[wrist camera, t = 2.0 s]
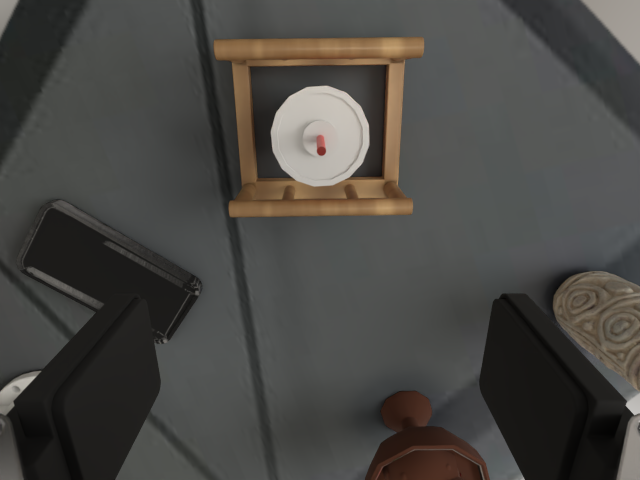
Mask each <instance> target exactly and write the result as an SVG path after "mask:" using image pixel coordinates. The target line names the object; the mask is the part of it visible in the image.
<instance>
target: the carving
mask: <svg viewBox="0 0 640 480" xmlns="http://www.w3.org/2000/svg"><path fill="white" fill-rule="evenodd" d="M553 310H554V313H555V317H556V320H557V321H558V323H559V324H560V325H561V326H562V328H563V329H565V330H566V331H567V332H568V334H569V335H570V336H571V337H572V338H573V339H574V340H575V341H576V342H577V343H578V344H579V345H581V346H582V347H583V348H585V349H586V350H587V351H589V352H590V353H592V354H593V355H595V357H596V358H598V359H599V360H600V361H601V362H602V363H604V364H605V366H607V367H608V368H610V369H612V370H614V371H615V372H617V373H618V374H619V375H620V376H622V377H623V378H625V380H626V381H628V382H629V383H630V384H631V385H632V386H633V387H634V388H635V389H636V390H638V391H640V286H638V285H636V284H634V283H631V282H629V281H627V280H625V279H622V278H620V277H618V276H616V275H614V274H609V273H607V272H603V271H589V272H584V273H580V274H576V275H573V276H571V277H570V278H568V279H567V280H566V281H565V282H564V283H563V284H562V285H561V286H560V287H559V288H558V290H557V291H556V293H555V295H554V298H553Z"/></svg>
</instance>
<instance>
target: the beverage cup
mask: <svg viewBox="0 0 640 480" xmlns="http://www.w3.org/2000/svg"><path fill="white" fill-rule="evenodd" d="M271 139H272V148H273V153H274V155H275V156H276V158H277V160H278V162H279V164H280V166H281V168H282V169H283V170H284V171H285V172H287V173H288V174H289V175H290V176H291V177H293V178H294V179H295V180H296V181H299V182H302V183H305V184H308V185H311V186H314V187H315V186H330V185H334V184H336V183H339V182H341V181H343V180H345V179H347V178H349V177H350V176H351V175H352V174H353V173H354V172H355V171H356V170H357V168H358V167H359V166H360V165H361V164H362V163H363V160H364V158H365V155H366V152H367V150H368V147H369V124H368V122H367V120H366V117H365V115H364V113H363V111H362V108H361V106H360V105H359V104H358V103H357V102H355V101H354V100H353V99H352V98H351V97H350V96H349V95H348V94H347V93H346V92H343V91H340V90H337V89H335V88H332V87H329V86H316V87H306V88H304V89H302V90H301V91H299V92H297V93H295V94H293V95H291V96H289V97H288V99H287V100H286V101H285V102H284V104H283V105H282V106H281V107H280V108H279V110H278V111H277V112H276V115H275V119H274V122H273V126H272V129H271Z"/></svg>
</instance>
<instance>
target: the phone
mask: <svg viewBox="0 0 640 480" xmlns="http://www.w3.org/2000/svg"><path fill="white" fill-rule="evenodd" d="M16 265H17V267H18V269H19V270H20V271H21V272H22V273H24V274H25V275H27V276H29V277H31V278H33V279H35V280H36V281H38V282H40V283H42V284H44V285H46V286H48V287H50V288H52V289H54V290H55V291H57V292H59V293H61V294H63V295H65V296H67V297H69V298H71V299H72V300H74V301H76V302H78V303H80V304H82V305H84V306H86V307H88V308H90V309H91V310H93V311H95V312H97V311H98V310H99V309H100V308H101V307H102V306H103V305H104V304H105V303H106V302H107V301H108V300H109V299H110V298H111V297H112V296H113V295H114V294H138V295H139V296H140V298H141V299H145V300H146V302H147V305H148V311H149V316H150V322H151V328H152V334H153V339H154V343H157V344H164V343H166V342H168V341H169V340H170V339H171V337H172V336H173V334H174V333H175V331H176V330H177V328H178V327H179V325H180V324H181V322H182V321H183V319H184V318H185V316H186V315H187V313H188V312H189V310H190V309H191V307H192V306H193V304H194V303H195V301H196V300H197V298H198V296H199V295H200V293H201V290H202V284H201V282H200V280H199V279H198V278H197V277H195V276H193V275H192V274H190V273H188V272H187V271H185V270H183V269H181V268H180V267H178V266H176V265H174V264H173V263H171V262H169V261H168V260H166V259H164V258H162V257H161V256H159V255H157V254H155V253H154V252H152V251H150V250H148V249H147V248H145V247H143V246H142V245H140V244H138V243H136V242H135V241H133V240H131V239H129V238H128V237H126V236H124V235H123V234H121V233H119V232H117V231H116V230H114V229H112V228H110V227H109V226H107V225H105V224H103V223H102V222H100V221H98V220H97V219H95V218H93V217H91V216H90V215H88V214H86V213H84V212H83V211H81V210H79V209H77V208H76V207H74V206H72V205H71V204H69V203H67V202H65V201H63V200H53V201H51V202H49V203H47V204H45V205H43V206H42V207H41V208H40V210H39V212H38V214H37V217H36V219H35V221H34V223H33V225H32V227H31V229H30V231H29V233H28V235H27V238H26V240H25V242H24V244H23V246H22V248H21V250H20V252H19V254H18V256H17V259H16Z"/></svg>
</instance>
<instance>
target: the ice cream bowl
mask: <svg viewBox="0 0 640 480" xmlns="http://www.w3.org/2000/svg"><path fill="white" fill-rule="evenodd" d="M380 412H381V415H382V417H383V420H384V423H385V425H386V426H387V427H389V428H390V429H392V430H394V431H396V432H397V433H396V434H394V435H393V436H391V437H389V438H387V439H386V440H385V441H383V442H382V443H381V444H380V446H379V448H378V450H377V452H376V454H375V456H374V458H373V460H372V463H371V465H370V467H369V469H368V472H367V475H366V477H365V480H490V479H489V475H488V471H487V467H486V463H485V462H484V460H483V459H482V458H481V456H480V455H479V453H478V452H477V451H476V450H475V449H474V448H473V447H472V446H470V445H469V444H468V443H467V442H465V441H464V440H462V439H460V438H459V437H457V436H455V435H454V434H452V433H450V432H449V431H447V430H445V429H443V428H442V427H435V426H426V425H427V423H428V421H429V419H430V417H431V415H432V409H431V405H430V402H429V399H428V398H426V397H425V396H423V395H422V394H420V393H418V392H417V391H400V392H398V393H396V394H394V395H393V396H391V397H389V398H387V399H386V401H385V403H384V405H383V407H382V409H381V411H380Z"/></svg>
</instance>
